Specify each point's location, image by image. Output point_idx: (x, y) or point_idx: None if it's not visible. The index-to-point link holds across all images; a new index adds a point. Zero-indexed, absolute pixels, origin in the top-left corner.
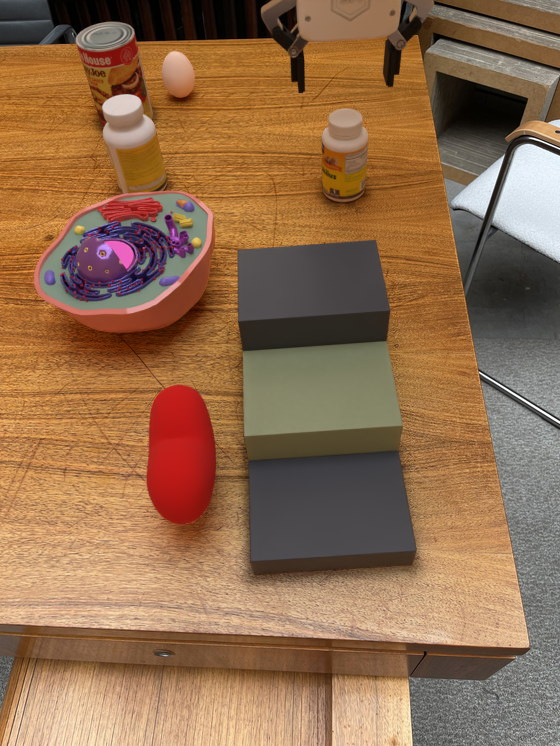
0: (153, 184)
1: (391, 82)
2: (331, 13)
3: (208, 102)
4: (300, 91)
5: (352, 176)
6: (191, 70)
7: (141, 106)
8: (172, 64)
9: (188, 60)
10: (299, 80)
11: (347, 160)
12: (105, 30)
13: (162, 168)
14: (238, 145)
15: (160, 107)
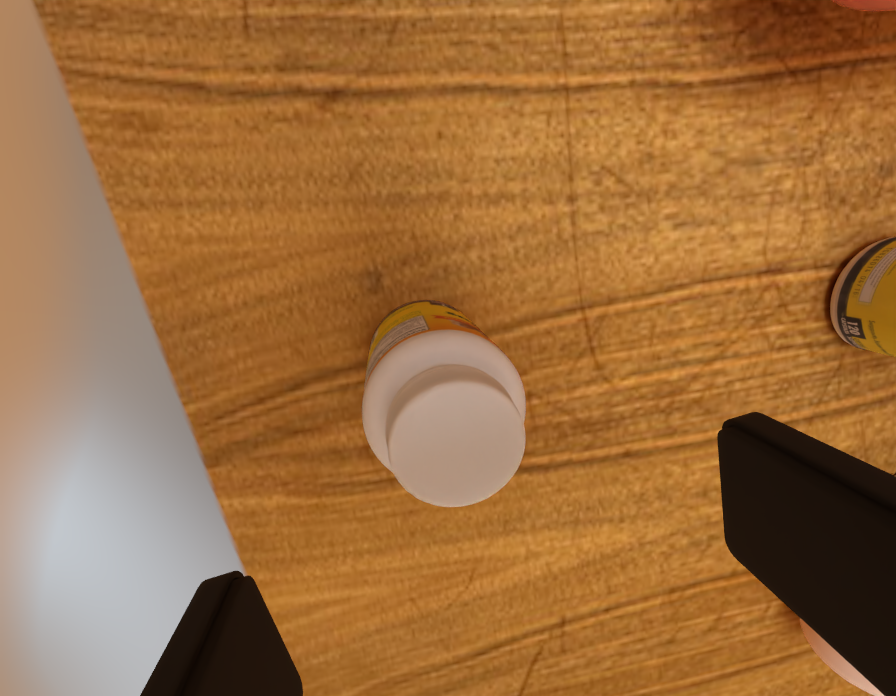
0: (887, 260)
1: (206, 597)
2: None
3: (755, 593)
4: (751, 416)
5: (399, 321)
6: (841, 658)
7: None
8: None
9: (863, 684)
10: (823, 447)
11: (420, 325)
12: None
13: (885, 303)
14: (683, 470)
15: None
